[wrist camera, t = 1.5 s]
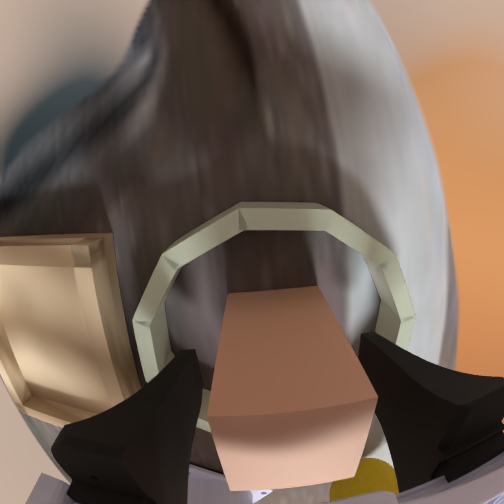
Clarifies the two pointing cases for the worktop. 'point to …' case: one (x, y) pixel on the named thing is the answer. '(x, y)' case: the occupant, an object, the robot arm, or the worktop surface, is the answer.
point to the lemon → (366, 480)
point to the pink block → (287, 392)
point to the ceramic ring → (267, 218)
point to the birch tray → (63, 326)
